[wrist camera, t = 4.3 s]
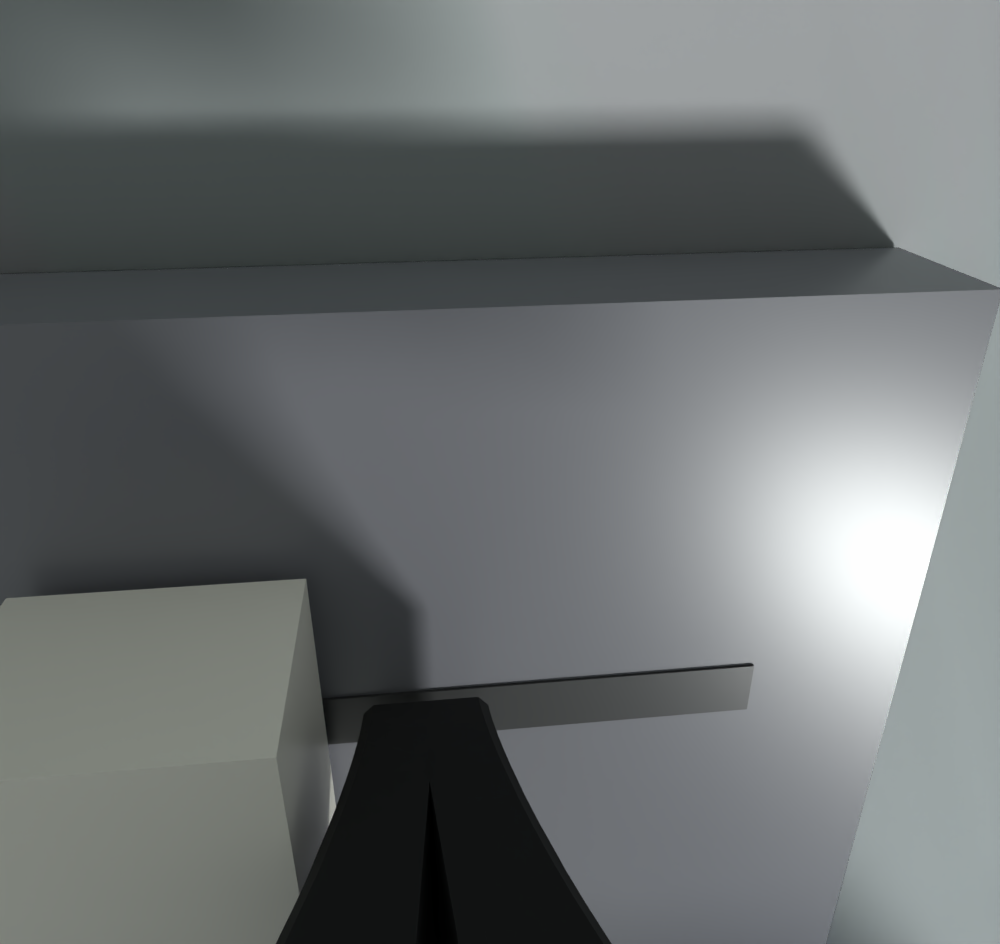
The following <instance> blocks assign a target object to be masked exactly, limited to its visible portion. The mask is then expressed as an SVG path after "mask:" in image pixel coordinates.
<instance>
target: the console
mask: <svg viewBox="0 0 1000 944" xmlns="http://www.w3.org/2000/svg"><path fill="white" fill-rule="evenodd" d="M999 302H1000V288H999V287H996V286H994V285H991V284H989V283H986V282H984V281H981V280H979V279H976V278H974V277H971V276H969V275H966V274H964V273H961V272H959V271H956V270H954V269H951V268H949V267H946V266H943V265H941V264H938V263H936V262H933V261H931V260H928V259H926V258H923V257H921V256H918V255H916V254H913V253H911V252H908V251H906V250H903V249H901V248H865V249H831V250H798V251H764V252H730V253H697V254H663V255H630V256H596V257H562V258H529V259H495V260H461V261H428V262H394V263H361V264H327V265H293V266H260V267H226V268H192V269H159V270H125V271H92V272H58V273H24V274H0V606H1V605H2V603H3V602H4V600H5V599H6V598H17V597H32V596H47V595H63V594H78V593H93V592H108V591H124V590H139V589H154V588H170V587H185V586H200V585H215V584H231V583H246V582H261V581H277V580H292V579H306V581H307V589H308V596H309V604H310V612H311V619H312V627H313V635H314V642H315V650H316V658H317V665H318V673H319V680H320V688H321V696H322V703H323V711H324V719H325V726H326V734H327V741H328V749H329V757H330V764H331V772H332V780H333V787H334V795H335V802H336V806H337V803H338V800H339V798H340V795H341V792H342V789H343V786H344V784H345V781H346V778H347V775H348V772H349V769H350V766H351V763H352V760H353V756H354V753H355V749H356V746H357V742H358V738H359V735H360V730H361V725H362V720H363V715H364V713H365V712H366V711H367V710H369V709H370V708H371V707H372V706H373V705H379V704H392V703H405V702H418V701H431V700H443V699H456V698H469V697H479V698H480V699H482V700H483V701H484V702H486V703H487V704H488V706H489V710H490V713H491V717H492V720H493V722H494V725H495V728H496V731H497V734H498V736H499V739H500V741H501V744H502V746H503V749H504V751H505V753H506V756H507V758H508V760H509V763H510V765H511V767H512V769H513V771H514V773H515V775H516V777H517V780H518V782H519V784H520V786H521V788H522V790H523V792H524V794H525V796H526V798H527V800H528V802H529V804H530V806H531V808H532V810H533V812H534V814H535V816H536V818H537V819H538V821H539V823H540V825H541V827H542V828H543V830H544V832H545V834H546V836H547V837H548V839H549V841H550V843H551V845H552V846H553V848H554V850H555V852H556V853H557V855H558V857H559V859H560V861H561V862H562V864H563V866H564V868H565V870H566V871H567V873H568V875H569V876H570V878H571V880H572V881H573V883H574V885H575V886H576V888H577V890H578V891H579V893H580V895H581V896H582V898H583V900H584V901H585V903H586V904H587V906H588V907H589V909H590V911H591V912H592V914H593V915H594V917H595V918H596V920H597V922H598V923H599V925H600V926H601V928H602V929H603V931H604V932H605V934H606V936H607V937H608V939H609V940H610V942H611V943H612V944H826V942H827V938H828V935H829V931H830V927H831V923H832V920H833V916H834V912H835V909H836V905H837V901H838V898H839V894H840V890H841V886H842V883H843V879H844V875H845V872H846V868H847V864H848V861H849V857H850V853H851V850H852V846H853V842H854V838H855V835H856V831H857V827H858V824H859V820H860V816H861V813H862V809H863V805H864V801H865V798H866V794H867V790H868V787H869V783H870V779H871V776H872V772H873V768H874V765H875V761H876V757H877V753H878V750H879V746H880V742H881V739H882V735H883V731H884V728H885V724H886V720H887V716H888V713H889V709H890V705H891V702H892V698H893V694H894V691H895V687H896V683H897V680H898V676H899V672H900V668H901V665H902V661H903V657H904V654H905V650H906V646H907V643H908V639H909V635H910V631H911V628H912V624H913V620H914V617H915V613H916V609H917V606H918V602H919V598H920V594H921V591H922V587H923V583H924V580H925V576H926V572H927V569H928V565H929V561H930V558H931V554H932V550H933V546H934V543H935V539H936V535H937V532H938V528H939V524H940V521H941V517H942V513H943V509H944V506H945V502H946V498H947V495H948V491H949V487H950V484H951V480H952V476H953V473H954V469H955V465H956V461H957V458H958V454H959V450H960V447H961V443H962V439H963V436H964V432H965V428H966V424H967V421H968V417H969V413H970V410H971V406H972V402H973V399H974V395H975V391H976V388H977V384H978V380H979V376H980V373H981V369H982V365H983V362H984V358H985V354H986V351H987V347H988V343H989V339H990V336H991V332H992V328H993V325H994V321H995V317H996V314H997V310H998V306H999Z"/></svg>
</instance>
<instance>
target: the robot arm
mask: <svg viewBox="0 0 1000 944" xmlns="http://www.w3.org/2000/svg"><path fill="white" fill-rule="evenodd" d="M276 944H612V943H611V942H610V940H609V939H608V937H607V936H606V934H605V932H604V931H603V929H602V928H601V926H600V925H599V923H598V922H597V920H596V918H595V917H594V915H593V914H592V912H591V911H590V909H589V907H588V906H587V904H586V903H585V901H584V900H583V898H582V896H581V895H580V893H579V891H578V890H577V888H576V886H575V885H574V883H573V881H572V880H571V878H570V876H569V875H568V873H567V871H566V870H565V868H564V866H563V864H562V862H561V861H560V859H559V857H558V855H557V853H556V852H555V850H554V848H553V846H552V845H551V843H550V841H549V839H548V837H547V836H546V834H545V832H544V830H543V828H542V827H541V825H540V823H539V821H538V819H537V818H536V816H535V814H534V812H533V810H532V808H531V806H530V804H529V802H528V800H527V798H526V796H525V794H524V792H523V790H522V788H521V786H520V784H519V782H518V780H517V777H516V775H515V773H514V771H513V769H512V767H511V765H510V763H509V760H508V758H507V756H506V753H505V751H504V749H503V746H502V744H501V741H500V739H499V736H498V734H497V731H496V728H495V725H494V722H493V720H492V717H491V713H490V710H489V706H488V704H487V703H486V702H484V701H483V700H482V699H480V698H479V697H469V698H456V699H443V700H431V701H418V702H405V703H392V704H379V705H373V706H372V707H371V708H370V709H369V710H367V711H366V712H365V713H364V715H363V720H362V725H361V730H360V735H359V738H358V742H357V746H356V749H355V753H354V756H353V760H352V763H351V766H350V769H349V772H348V775H347V778H346V781H345V784H344V786H343V789H342V792H341V795H340V798H339V800H338V803H337V806H336V809H335V811H334V814H333V816H332V819H331V821H330V824H329V826H328V829H327V831H326V833H325V836H324V838H323V841H322V843H321V845H320V848H319V850H318V853H317V855H316V857H315V860H314V862H313V865H312V867H311V870H310V872H309V874H308V877H307V879H306V881H305V883H304V886H303V888H302V890H301V892H300V895H299V897H298V899H297V901H296V903H295V905H294V907H293V909H292V911H291V913H290V915H289V917H288V919H287V922H286V924H285V926H284V928H283V930H282V932H281V934H280V936H279V938H278V940H277V942H276Z"/></svg>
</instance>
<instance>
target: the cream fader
mask: <svg viewBox="0 0 1000 944" xmlns="http://www.w3.org/2000/svg"><path fill="white" fill-rule="evenodd" d="M335 809H336V802H335V795H334V787H333V780H332V772H331V764H330V757H329V749H328V741H327V734H326V726H325V719H324V711H323V703H322V696H321V688H320V680H319V673H318V665H317V658H316V650H315V642H314V635H313V627H312V619H311V612H310V604H309V596H308V589H307V581H306V579H292V580H277V581H261V582H246V583H231V584H215V585H200V586H185V587H170V588H154V589H139V590H124V591H108V592H93V593H78V594H63V595H47V596H32V597H17V598H6V599H5V600H4V602H3V603H2V605H1V606H0V944H276V942H277V940H278V938H279V936H280V934H281V932H282V930H283V928H284V926H285V924H286V922H287V919H288V917H289V915H290V913H291V911H292V909H293V907H294V905H295V903H296V901H297V899H298V897H299V895H300V892H301V890H302V888H303V886H304V883H305V881H306V879H307V877H308V874H309V872H310V870H311V867H312V865H313V862H314V860H315V857H316V855H317V853H318V850H319V848H320V845H321V843H322V841H323V838H324V836H325V833H326V831H327V829H328V826H329V824H330V821H331V819H332V816H333V814H334V811H335Z"/></svg>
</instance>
